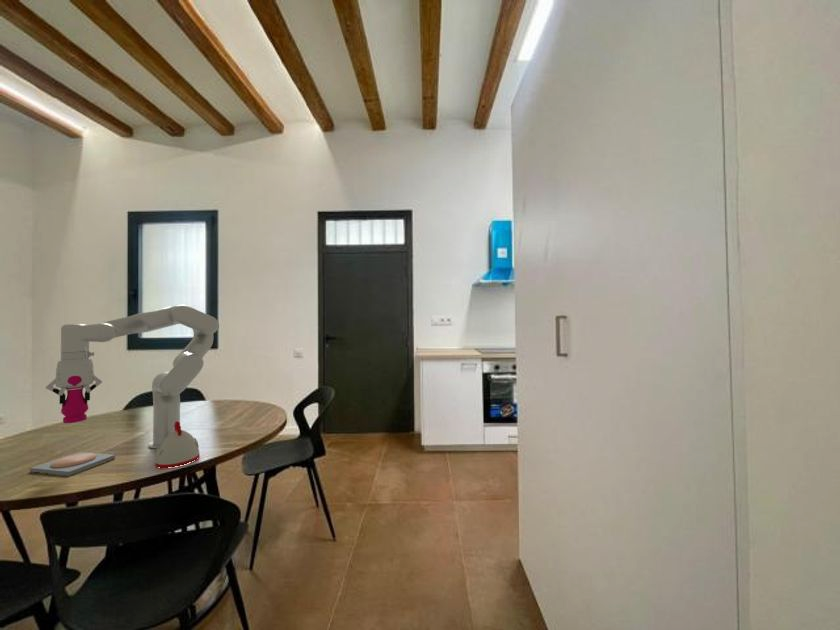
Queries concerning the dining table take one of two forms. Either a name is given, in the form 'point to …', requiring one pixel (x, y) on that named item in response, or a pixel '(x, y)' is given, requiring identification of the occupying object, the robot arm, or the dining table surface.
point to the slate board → (72, 463)
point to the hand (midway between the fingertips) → (75, 403)
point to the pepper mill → (74, 402)
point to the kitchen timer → (177, 449)
